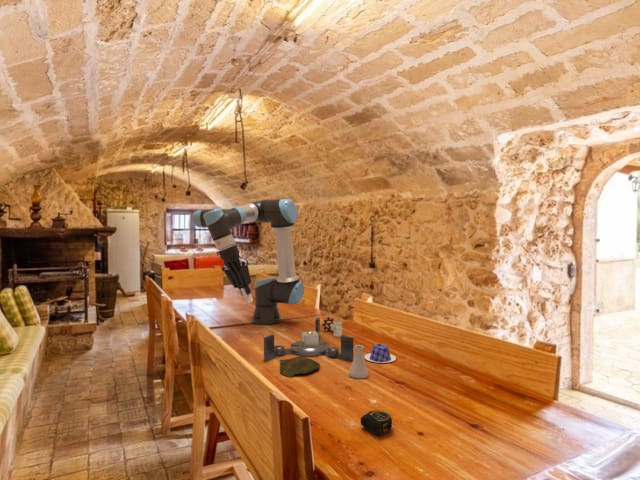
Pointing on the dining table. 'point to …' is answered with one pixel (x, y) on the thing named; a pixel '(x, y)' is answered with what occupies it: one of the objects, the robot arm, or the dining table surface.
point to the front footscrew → (272, 349)
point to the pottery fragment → (297, 366)
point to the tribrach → (321, 345)
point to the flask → (358, 364)
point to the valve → (333, 326)
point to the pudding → (380, 354)
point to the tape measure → (377, 422)
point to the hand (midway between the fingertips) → (250, 302)
